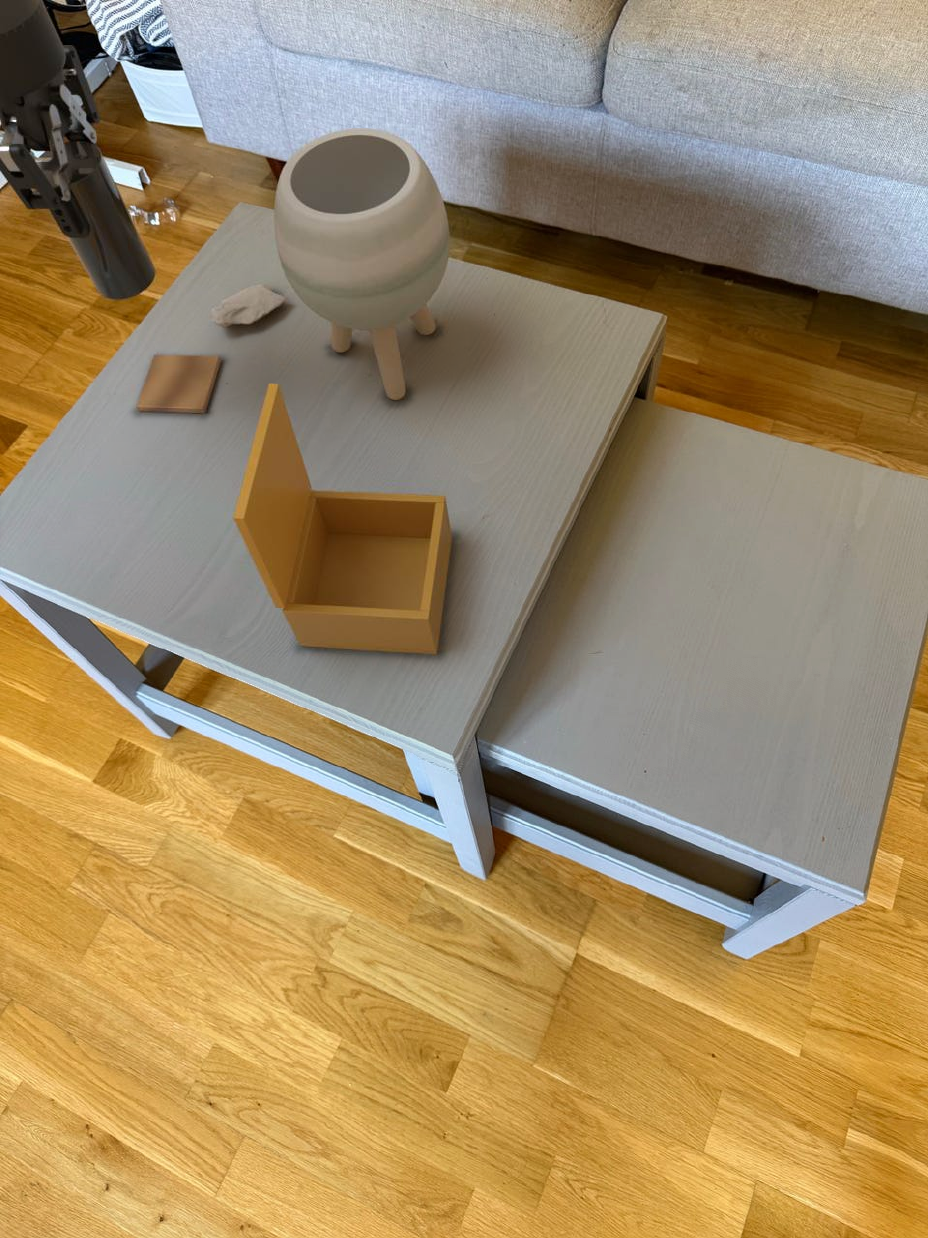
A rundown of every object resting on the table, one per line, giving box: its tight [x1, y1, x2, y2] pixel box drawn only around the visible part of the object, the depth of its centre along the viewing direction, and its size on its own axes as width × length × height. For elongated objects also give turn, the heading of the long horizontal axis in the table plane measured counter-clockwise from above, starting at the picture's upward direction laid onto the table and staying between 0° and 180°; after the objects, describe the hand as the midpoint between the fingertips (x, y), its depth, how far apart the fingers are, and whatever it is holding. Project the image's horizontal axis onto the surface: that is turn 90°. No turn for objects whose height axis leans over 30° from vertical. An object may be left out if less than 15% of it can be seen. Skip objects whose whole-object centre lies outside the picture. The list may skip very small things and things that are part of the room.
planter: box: [273, 128, 451, 401], centre depth 89 cm, size 16×16×22 cm
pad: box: [136, 354, 222, 414], centre depth 98 cm, size 8×8×1 cm
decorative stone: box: [210, 283, 287, 328], centre depth 102 cm, size 9×6×3 cm, turn 123°
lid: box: [232, 383, 313, 609], centre depth 73 cm, size 14×13×1 cm
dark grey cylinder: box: [37, 141, 156, 301], centre depth 80 cm, size 6×6×12 cm
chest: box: [281, 489, 453, 655], centre depth 82 cm, size 13×13×7 cm
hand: (89, 208), depth 79 cm, fingers closed on dark grey cylinder, 6 cm apart
